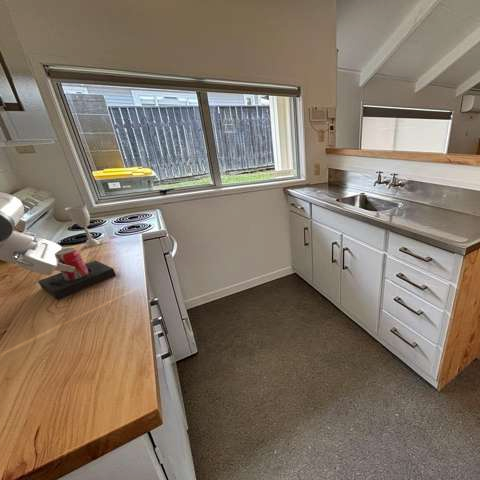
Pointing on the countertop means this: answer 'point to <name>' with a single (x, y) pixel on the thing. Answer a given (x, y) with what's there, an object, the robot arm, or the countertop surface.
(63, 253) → the beverage can
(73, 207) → the chalice
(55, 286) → the dock pad
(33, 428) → the countertop surface
